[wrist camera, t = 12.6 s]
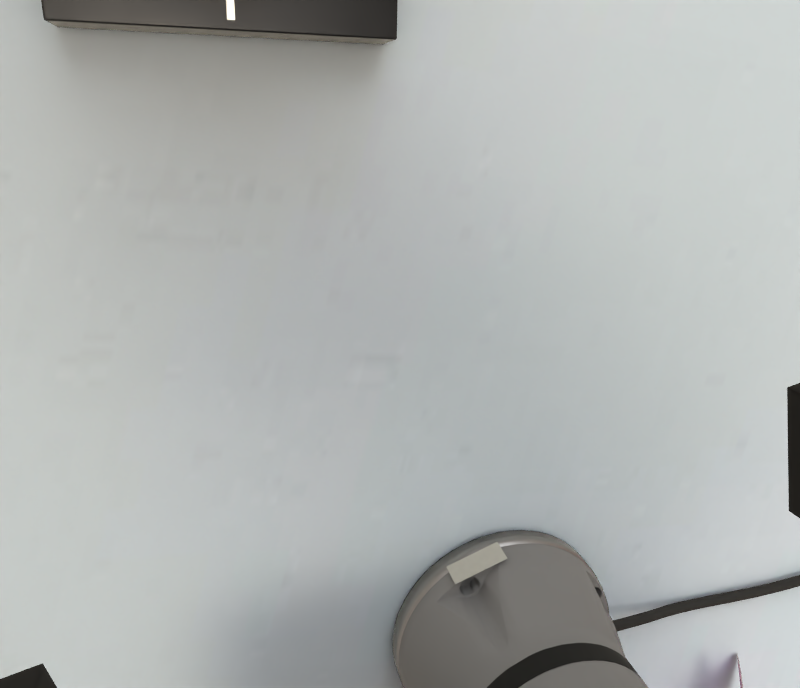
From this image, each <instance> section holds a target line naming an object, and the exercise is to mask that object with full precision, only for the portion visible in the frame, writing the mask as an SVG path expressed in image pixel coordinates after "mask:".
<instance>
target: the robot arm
mask: <svg viewBox="0 0 800 688" xmlns="http://www.w3.org/2000/svg"><path fill="white" fill-rule="evenodd" d="M787 396H788V475H789V511H790V512H792V513H793V514H794V515H796V516H797V517H799V518H800V383H798V384H796V385H793V386H790V387H788V388H787ZM798 586H800V575H799V576H795V577H792V578H788V579H784V580H780V581H776V582H773V583H769V584H764V585H760V586H756V587H751V588H747V589H742V590H737V591H732V592H727V593H721V594H716V595H711V596H706V597H701V598H696V599H691V600H687V601H682V602H678V603H674V604H670V605H667V606H663V607H660V608H656V609H653V610H650V611H647V612H643V613H640V614H636V615H633V616H629V617H625V618H621V619H617V620H613V621H612V619H611V617H610V615H609V609H608V604H607V600H606V597H605V594H604V591H603V589H602V587H601V585H600V583H599V581H598V579H597V577H596V575H595V574H594V572H593V571H592V569H591V568H590V567H589V566H588V564H587V563H586V562H585V561H584V560H583V558H582V557H581V556H580V555H579V554H578V552H576V551H575V550H574V549H573V548H572V547H571V546H570V545H568V544H567V543H565V542H564V541H562V540H560V539H558V538H556V537H554V536H551V535H548V534H545V533H541V532H535V531H525V530H517V531H505V532H499V533H494V534H490V535H487V536H483V537H480V538H478V539H475V540H473V541H470V542H468V543H466V544H464V545H462V546H460V547H458V548H457V549H455V550H453V551H451V552H450V553H448V554H447V555H446V556H444V557H443V558H441V559H440V560H439V561H438V562H436V563H435V564H434V565H433V566H432V567H431V568H430V569H429V570H427V571H426V572H425V573H424V574H423V576H422V577H421V578H420V579H419V580H418V581H417V582H416V584H415V585H414V587H413V588H412V589H411V591H410V592H409V594H408V595H407V597H406V599H405V600H404V602H403V604H402V606H401V609H400V611H399V614H398V616H397V619H396V623H395V627H394V632H393V644H392V646H393V656H394V661H395V664H396V667H397V670H398V673H399V676H400V679H401V682H402V685H403V687H404V688H648V687H647V685H646V684H645V683H644V681H643V680H642V679H641V677H640V676H639V675H638V674H637V672H636V671H635V670H634V668H633V667H632V666H631V664H630V663H629V662H628V660H627V659H626V658H625V655H624V652H623V649H622V646H621V643H620V640H619V637H618V634H617V631H620V630H624V629H628V628H631V627H635V626H639V625H642V624H646V623H649V622H652V621H655V620H658V619H661V618H664V617H668V616H671V615H675V614H679V613H683V612H687V611H691V610H695V609H700V608H705V607H710V606H715V605H720V604H725V603H730V602H735V601H740V600H745V599H750V598H754V597H759V596H763V595H767V594H771V593H775V592H779V591H783V590H787V589H790V588H794V587H798ZM0 688H57V687H56V685H55V684H54V682H53V680H52V679H51V677H50V675H49V673H48V672H47V670H46V668H45V667H44V665H43V664H40V665H37V666H35V667H32V668H29V669H26V670H24V671H21V672H18V673H16V674H13V675H10V676H8V677H5V678H2V679H0Z"/></svg>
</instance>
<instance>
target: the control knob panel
mask: <svg viewBox="0 0 800 688" xmlns="http://www.w3.org/2000/svg"><path fill="white" fill-rule="evenodd" d="M41 2H42V9H43V17H44V20H46V21H48V22H49V23H51V24H53V25H55V26H57V27H63V28H82V29H101V30H120V31H139V32H158V33H177V34H195V35H214V36H233V37H252V38H271V39H290V40H309V41H328V42H347V43H365V44H385V43H388V42H390V41H393V40H395V39H396V38H397V0H41Z"/></svg>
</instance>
